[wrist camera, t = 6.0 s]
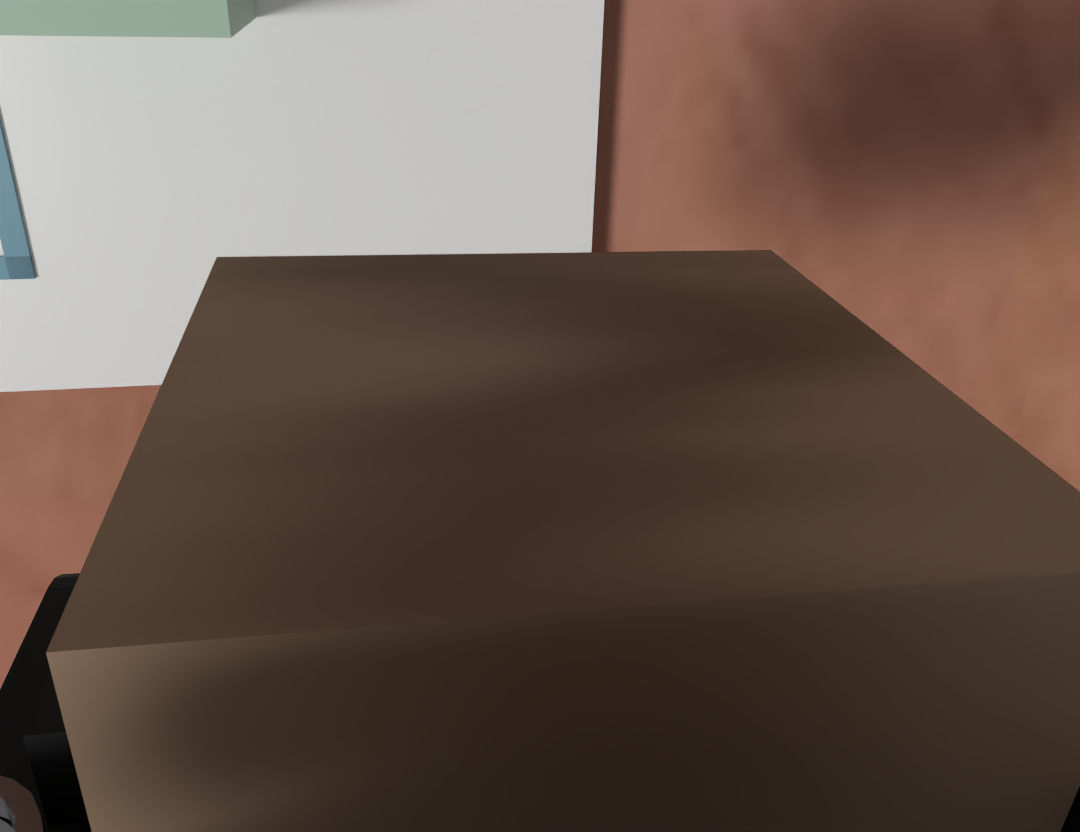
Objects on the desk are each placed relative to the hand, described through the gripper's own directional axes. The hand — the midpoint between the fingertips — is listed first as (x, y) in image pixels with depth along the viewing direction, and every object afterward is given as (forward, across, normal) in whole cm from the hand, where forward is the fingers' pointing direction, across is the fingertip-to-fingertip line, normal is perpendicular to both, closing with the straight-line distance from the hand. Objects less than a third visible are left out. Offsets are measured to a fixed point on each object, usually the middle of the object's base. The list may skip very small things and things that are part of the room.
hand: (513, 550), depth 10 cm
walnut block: (+1, 0, 0) cm, 1 cm away
